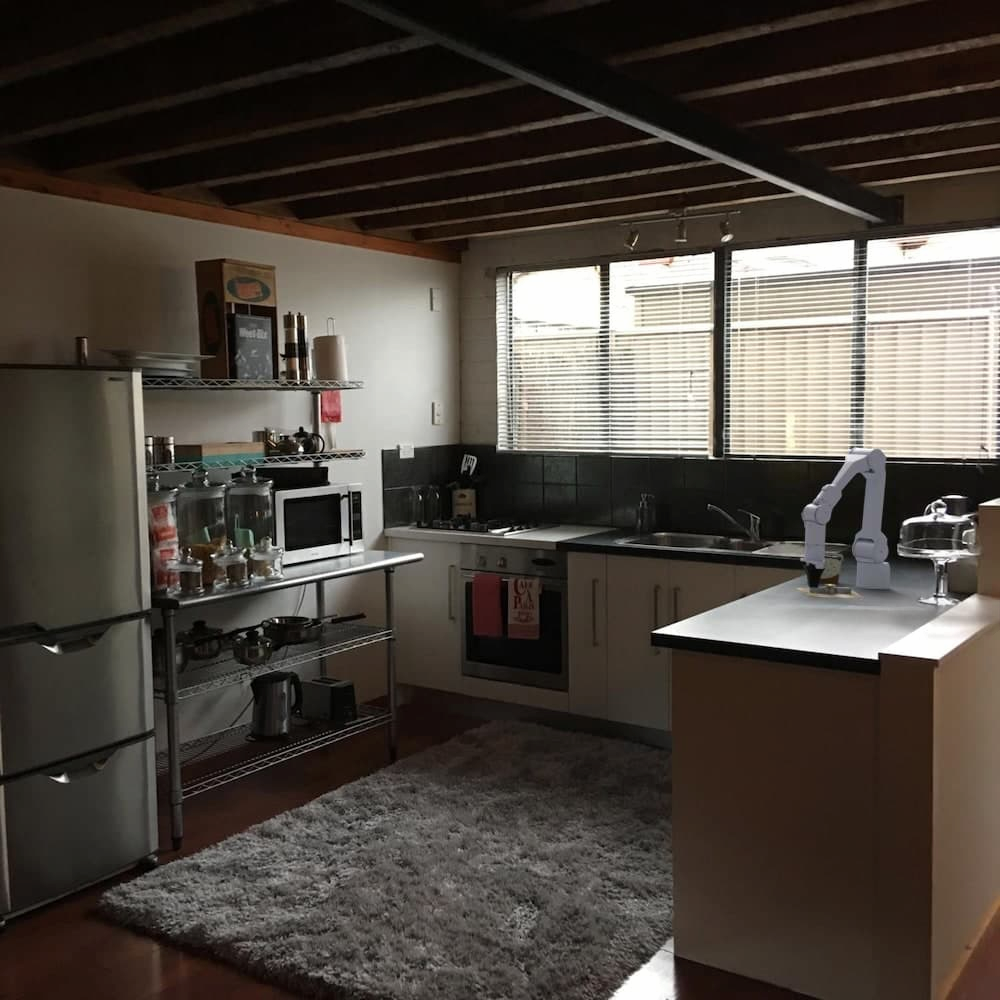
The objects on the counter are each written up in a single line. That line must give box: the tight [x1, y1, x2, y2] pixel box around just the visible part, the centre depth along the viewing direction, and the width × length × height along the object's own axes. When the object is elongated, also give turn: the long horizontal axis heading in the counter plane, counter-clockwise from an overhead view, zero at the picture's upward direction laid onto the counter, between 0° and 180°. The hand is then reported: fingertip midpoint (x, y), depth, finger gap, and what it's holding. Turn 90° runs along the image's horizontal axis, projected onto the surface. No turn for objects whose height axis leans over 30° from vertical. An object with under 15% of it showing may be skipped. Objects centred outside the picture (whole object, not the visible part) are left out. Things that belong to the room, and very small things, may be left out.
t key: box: [808, 585, 852, 594], centre depth 322 cm, size 12×4×2 cm, turn 87°
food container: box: [803, 551, 845, 584], centre depth 345 cm, size 12×6×10 cm, turn 84°
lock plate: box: [796, 583, 865, 599], centre depth 322 cm, size 16×16×3 cm
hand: (813, 589), depth 324 cm, fingers closed
